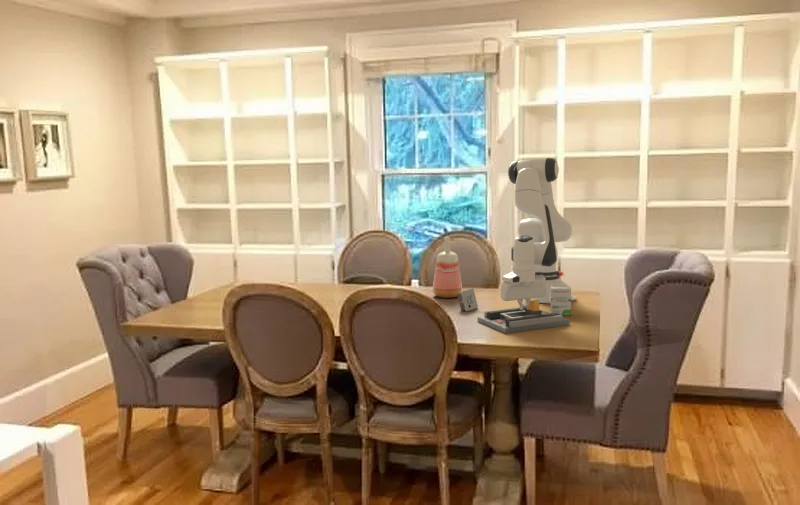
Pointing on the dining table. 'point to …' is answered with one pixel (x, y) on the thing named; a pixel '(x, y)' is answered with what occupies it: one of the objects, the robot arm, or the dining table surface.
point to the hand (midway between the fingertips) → (523, 309)
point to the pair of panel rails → (524, 318)
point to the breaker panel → (502, 327)
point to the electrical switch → (467, 300)
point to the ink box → (561, 300)
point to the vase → (447, 273)
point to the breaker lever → (533, 308)
